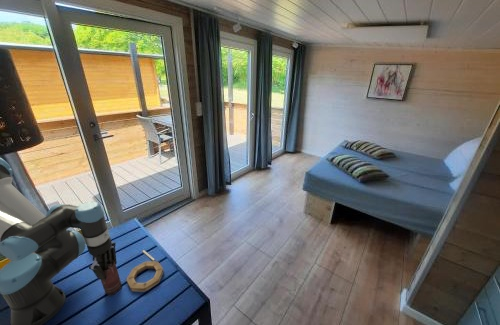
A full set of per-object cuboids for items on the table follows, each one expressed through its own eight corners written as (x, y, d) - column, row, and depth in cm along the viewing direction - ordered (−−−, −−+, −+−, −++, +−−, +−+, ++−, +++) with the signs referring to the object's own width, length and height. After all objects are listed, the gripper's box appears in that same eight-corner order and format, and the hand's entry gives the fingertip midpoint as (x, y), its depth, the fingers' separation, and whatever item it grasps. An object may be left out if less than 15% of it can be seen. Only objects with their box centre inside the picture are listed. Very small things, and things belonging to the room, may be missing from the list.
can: (114, 297, 87) (107, 273, 82) (101, 293, 89) (93, 269, 83) (125, 284, 93) (118, 260, 88) (113, 281, 94) (105, 257, 89)
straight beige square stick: (154, 260, 105) (154, 259, 105) (153, 261, 105) (153, 260, 104) (143, 250, 110) (143, 249, 110) (142, 251, 110) (142, 250, 110)
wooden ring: (122, 291, 90) (121, 288, 89) (137, 264, 103) (137, 260, 102) (155, 291, 90) (154, 288, 89) (166, 264, 103) (166, 261, 102)
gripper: (96, 254, 74) (111, 299, 83) (118, 228, 87) (129, 269, 96) (74, 254, 74) (92, 299, 83) (100, 227, 87) (112, 269, 96)
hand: (112, 283), depth 89 cm, fingers closed
